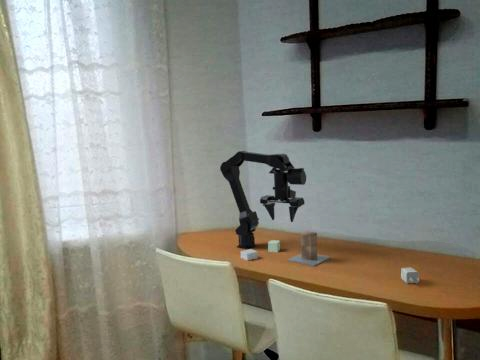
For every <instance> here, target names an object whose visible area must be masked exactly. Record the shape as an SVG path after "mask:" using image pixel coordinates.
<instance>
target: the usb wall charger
mask: <svg viewBox="0 0 480 360" xmlns="http://www.w3.org/2000/svg"><path fill="white" fill-rule="evenodd" d="M400 273H401V275H400V276H401V277H400V278H401V279H402V281H403V282H405V284H407V285H409V284H408V283H416V284H418V283H419V282H420V278H419V276H420V275H419V273H420V272H419V271H417V270H416V269H414V268H413V267H402V268H401V272H400Z"/></svg>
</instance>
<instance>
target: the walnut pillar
mask: <svg viewBox="0 0 480 360" xmlns="http://www.w3.org/2000/svg"><path fill="white" fill-rule="evenodd" d="M300 254H301V259H306V260H313V259H316V258H317V254H318V234H317V232H315V231H304V232H301V233H300Z"/></svg>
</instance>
